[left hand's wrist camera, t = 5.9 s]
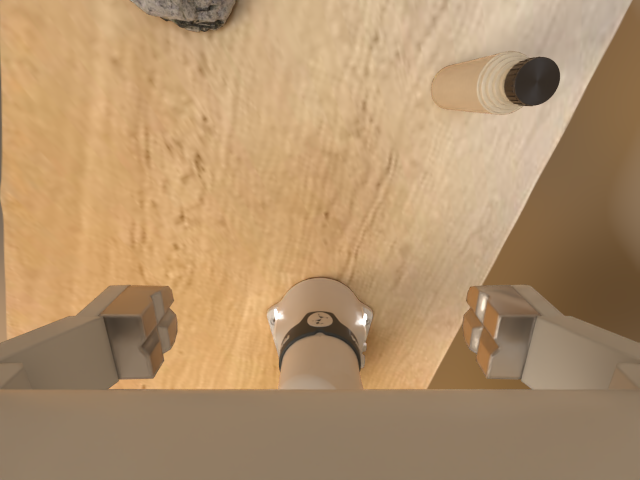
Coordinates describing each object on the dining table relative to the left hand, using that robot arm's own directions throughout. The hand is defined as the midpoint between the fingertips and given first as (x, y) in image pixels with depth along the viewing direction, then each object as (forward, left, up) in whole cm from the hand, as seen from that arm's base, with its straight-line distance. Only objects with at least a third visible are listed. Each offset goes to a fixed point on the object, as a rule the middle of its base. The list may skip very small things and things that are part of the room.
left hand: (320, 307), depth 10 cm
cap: (+7, -19, -26) cm, 33 cm away
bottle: (+7, -19, -48) cm, 52 cm away
